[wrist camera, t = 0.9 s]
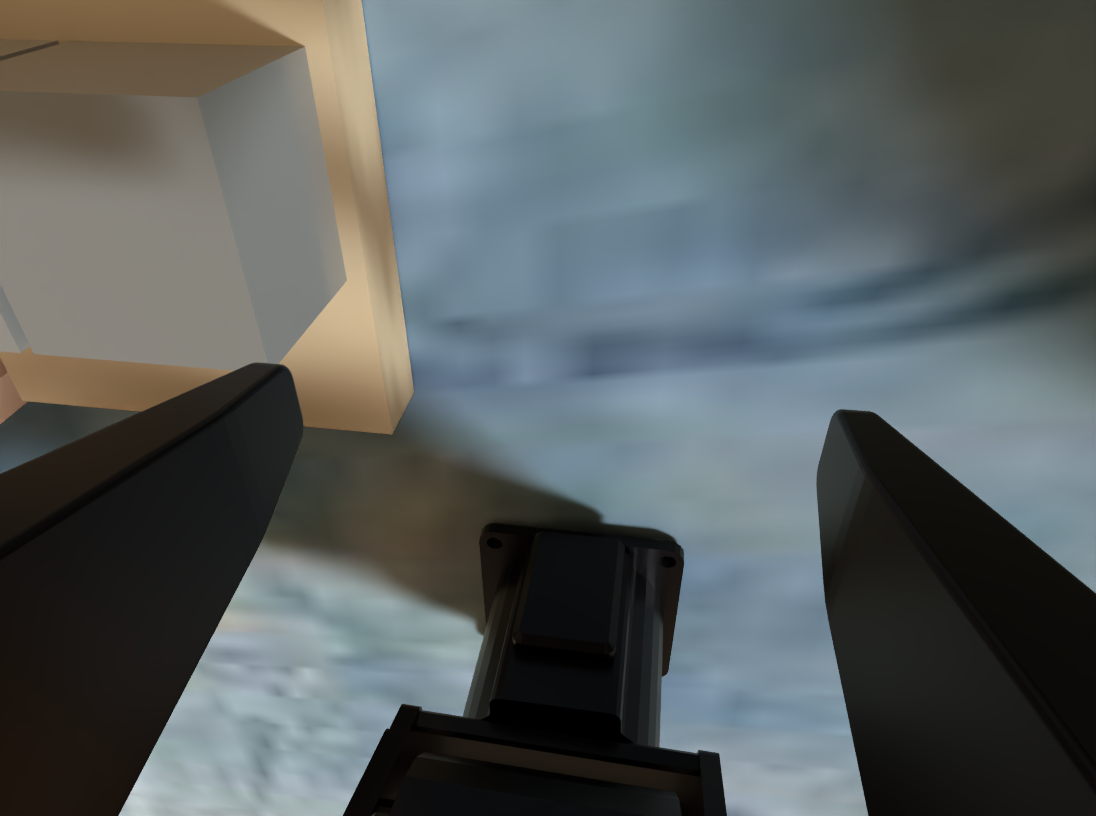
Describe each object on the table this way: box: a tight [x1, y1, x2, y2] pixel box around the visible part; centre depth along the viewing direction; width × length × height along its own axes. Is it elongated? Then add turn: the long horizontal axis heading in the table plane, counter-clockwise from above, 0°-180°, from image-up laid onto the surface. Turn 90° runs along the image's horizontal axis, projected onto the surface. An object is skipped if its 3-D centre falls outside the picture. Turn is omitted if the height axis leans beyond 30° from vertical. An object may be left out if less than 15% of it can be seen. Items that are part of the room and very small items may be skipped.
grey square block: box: [0, 41, 347, 371], centre depth 15 cm, size 5×5×4 cm
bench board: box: [0, 0, 414, 434], centre depth 17 cm, size 14×11×2 cm
